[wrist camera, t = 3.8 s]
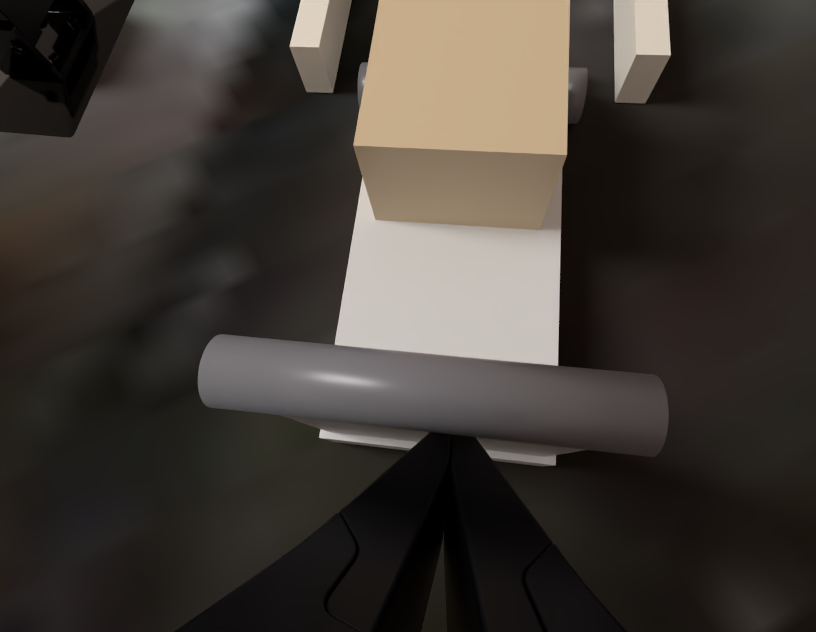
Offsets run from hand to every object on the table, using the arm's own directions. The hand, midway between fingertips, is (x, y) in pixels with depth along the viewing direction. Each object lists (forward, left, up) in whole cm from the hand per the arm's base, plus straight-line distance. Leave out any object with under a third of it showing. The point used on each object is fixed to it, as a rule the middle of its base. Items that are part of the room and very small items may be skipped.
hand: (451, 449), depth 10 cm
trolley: (+8, +1, -7) cm, 11 cm away
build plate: (+17, +21, -8) cm, 28 cm away
